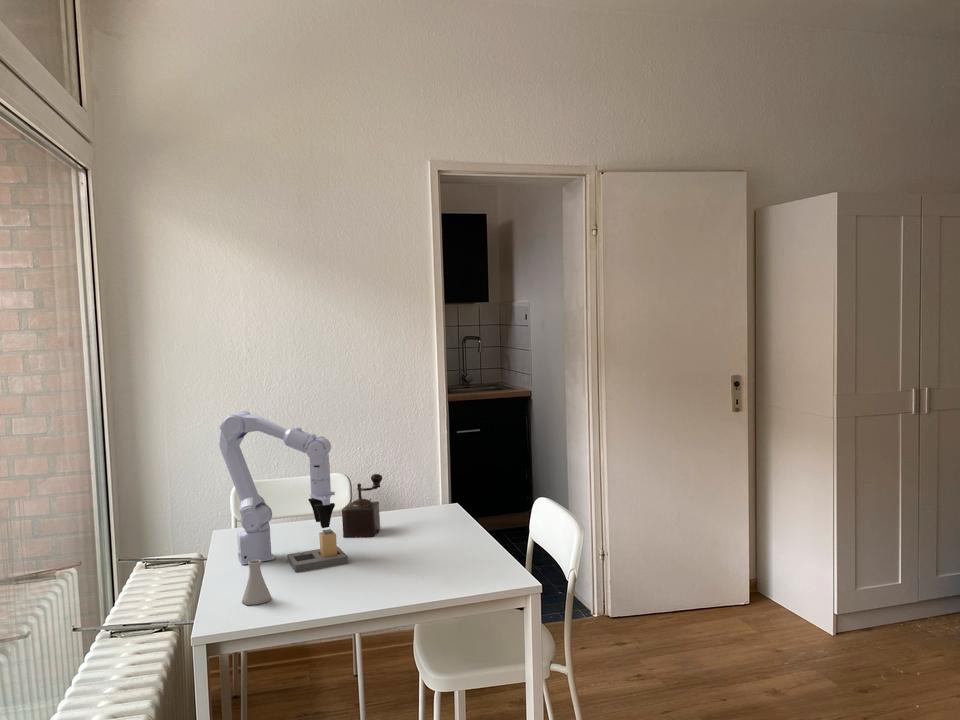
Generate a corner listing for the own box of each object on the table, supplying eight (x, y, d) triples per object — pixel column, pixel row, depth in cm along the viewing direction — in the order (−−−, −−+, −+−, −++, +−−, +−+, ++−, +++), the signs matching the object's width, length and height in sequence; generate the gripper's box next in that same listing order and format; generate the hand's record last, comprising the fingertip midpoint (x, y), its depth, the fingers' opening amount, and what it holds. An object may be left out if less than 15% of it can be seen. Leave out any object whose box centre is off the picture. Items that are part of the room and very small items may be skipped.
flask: (243, 608, 185) (240, 567, 184) (240, 598, 191) (238, 559, 191) (273, 602, 188) (271, 563, 187) (269, 593, 194) (267, 555, 194)
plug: (323, 563, 218) (322, 533, 217) (320, 559, 221) (319, 530, 221) (337, 560, 219) (335, 531, 219) (334, 557, 223) (332, 527, 223)
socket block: (295, 572, 210) (295, 564, 210) (287, 561, 221) (286, 553, 221) (348, 563, 217) (347, 555, 216) (337, 552, 227) (337, 545, 227)
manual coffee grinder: (376, 537, 242) (373, 482, 242) (342, 538, 243) (339, 482, 243) (386, 524, 258) (383, 472, 257) (354, 525, 259) (351, 473, 258)
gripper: (339, 481, 217) (341, 528, 218) (328, 473, 230) (330, 517, 231) (315, 484, 214) (317, 531, 215) (304, 475, 227) (307, 520, 228)
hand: (322, 524), depth 223 cm, fingers open, 7 cm apart
